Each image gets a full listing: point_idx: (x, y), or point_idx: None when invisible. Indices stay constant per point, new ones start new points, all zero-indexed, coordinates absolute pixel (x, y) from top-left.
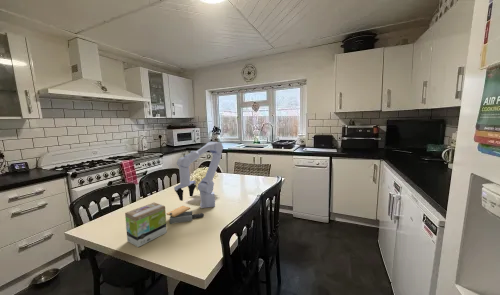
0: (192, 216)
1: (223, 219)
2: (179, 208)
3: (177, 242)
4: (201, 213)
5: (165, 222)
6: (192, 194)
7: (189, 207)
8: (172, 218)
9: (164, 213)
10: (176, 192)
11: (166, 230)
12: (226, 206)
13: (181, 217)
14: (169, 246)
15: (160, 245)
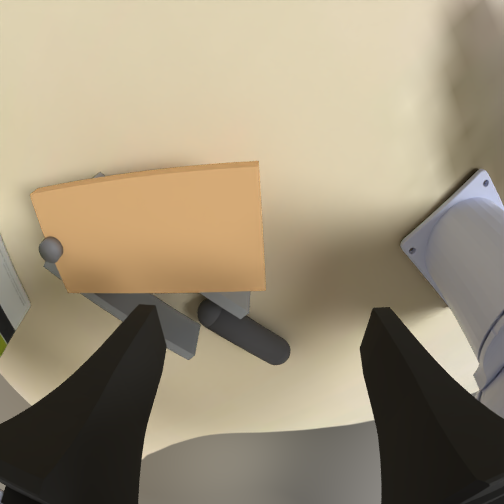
0: (211, 330)
1: (306, 417)
2: (172, 205)
3: (60, 379)
4: (275, 361)
5: (1, 349)
6: (372, 382)
7: (264, 281)
8: (61, 278)
9: None
10: (30, 416)
11: (25, 313)
12: (459, 350)
13: (120, 317)
14: (34, 370)
15: (9, 345)
